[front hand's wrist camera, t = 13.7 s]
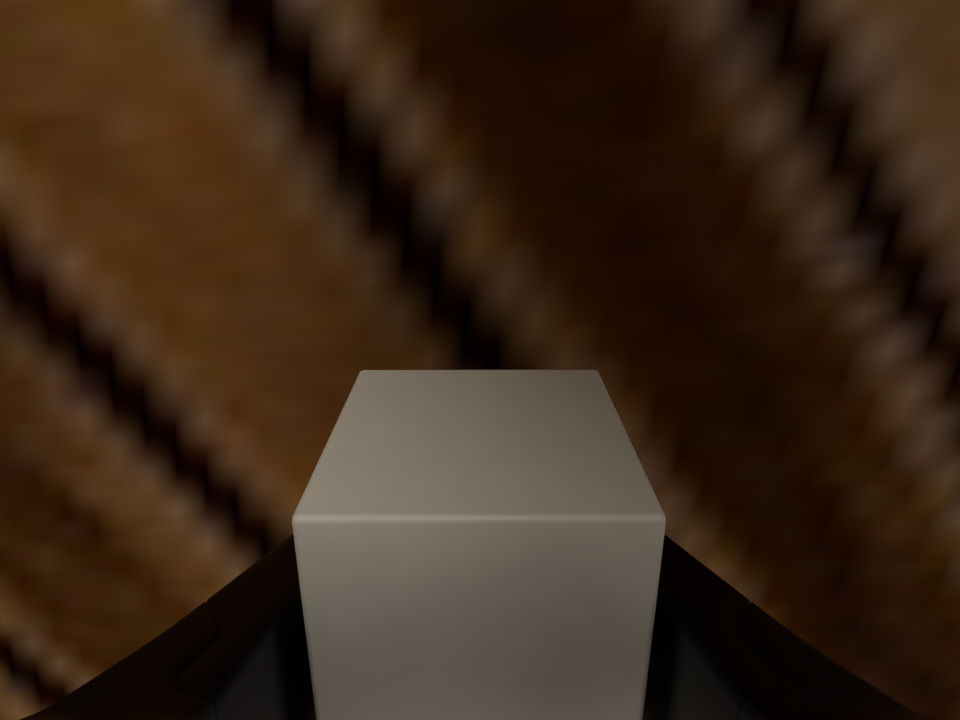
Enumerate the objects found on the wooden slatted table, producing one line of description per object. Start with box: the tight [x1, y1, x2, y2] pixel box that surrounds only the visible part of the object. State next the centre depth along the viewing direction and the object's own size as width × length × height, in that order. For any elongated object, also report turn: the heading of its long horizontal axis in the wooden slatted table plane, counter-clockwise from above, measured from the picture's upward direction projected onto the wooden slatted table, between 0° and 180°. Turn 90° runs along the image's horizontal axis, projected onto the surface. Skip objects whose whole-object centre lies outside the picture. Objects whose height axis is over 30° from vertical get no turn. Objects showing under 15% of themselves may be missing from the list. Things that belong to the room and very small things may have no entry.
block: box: [292, 370, 666, 720], centre depth 10 cm, size 4×5×5 cm
